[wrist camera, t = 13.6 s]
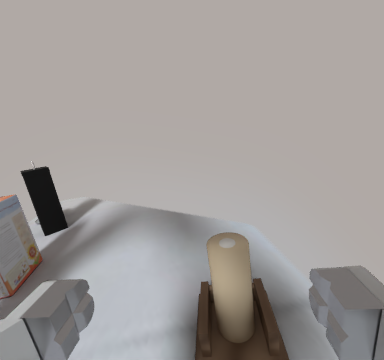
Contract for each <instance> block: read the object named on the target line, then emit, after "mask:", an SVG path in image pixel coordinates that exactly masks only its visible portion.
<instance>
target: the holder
mask: <svg viewBox="0 0 384 360" xmlns="http://www.w3.org/2000/svg"><path fill="white" fill-rule="evenodd" d="M253 282H254V283H252V294H253V307H254V320H255V331H254V334H253V336H252V337H251V338H250V339H249V340H247V341H245V342H242V343H234V342H230V341H228V340H227V339H225V338H224V337H223V336H222V335H221V333H220V332H219V329H218V325H217V317H216V310H215V303H214V295H213V288H212V285H209V284H208V282H201V294H199V303H198V319H197V336H196V353H195V360H289V358H288V355H287V352H286V349H285V346H284V343H283V340H282V337H281V334H280V331H279V328H278V326H277V323H276V320H275V317H274V314H273V311H272V308H271V305H270V302H269V299H268V296H267V293H266V291H265V290H264V287H263V284H262V281H261V278H259V279H253Z"/></svg>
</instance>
